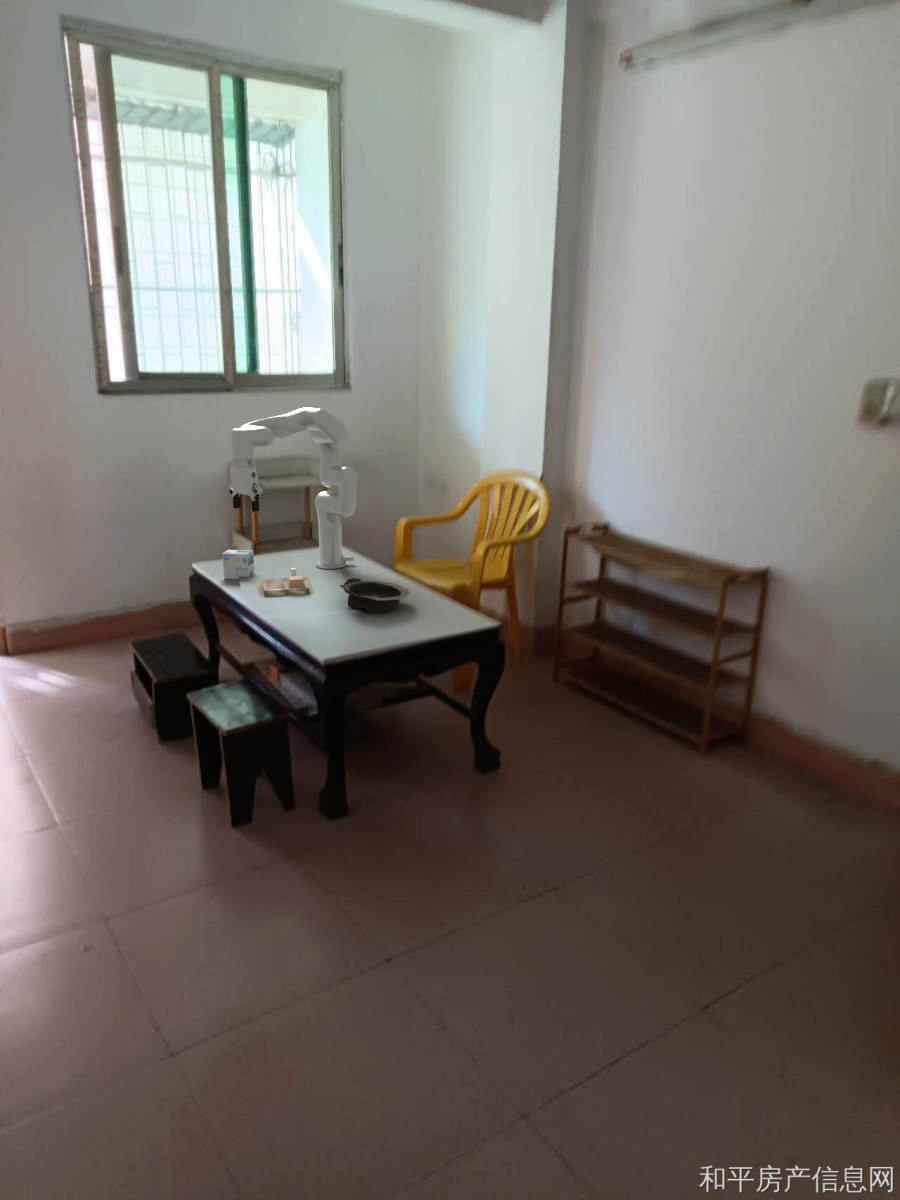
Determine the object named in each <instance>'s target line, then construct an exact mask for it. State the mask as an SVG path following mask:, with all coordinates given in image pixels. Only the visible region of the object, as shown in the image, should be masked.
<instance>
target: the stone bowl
mask: <svg viewBox="0 0 900 1200" xmlns="http://www.w3.org/2000/svg"><path fill="white" fill-rule="evenodd" d="M339 587H340V588H342V589H343V590H344V592H345V593H346V594H348V597H347V606H348V607H349V608H350V609H351V610H359V609H365V610H366V611H367V612H368V614H373V615H378V614H385V613H388V612H390V611H395V610H396V609H395V608H397V607H398V605H399V603H400V601H401V599H405V598H407V597H408V596H409V595H410V594H411V593H410V590H409V589H407V588H405V587H404V586H402V585H400V584H395V583H392V582H389V581H388V582H387V581H384V580H383V581H382V580H363V579H361V578H359V577H358V578H357V577H356V578H355V577H352V578H347V580H346V581H345V582H344V584H341V585H340V584H339ZM394 609H395V610H394Z"/></svg>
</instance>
